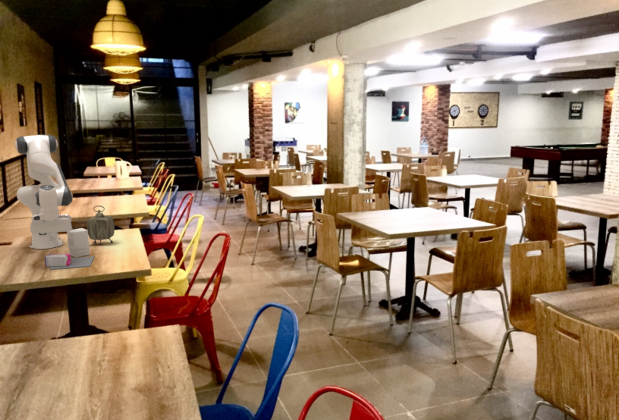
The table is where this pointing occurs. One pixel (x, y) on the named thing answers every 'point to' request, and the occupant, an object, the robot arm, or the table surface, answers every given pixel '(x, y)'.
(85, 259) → the mat
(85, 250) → the supplement box
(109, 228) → the tabletop clock
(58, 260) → the supplement box
